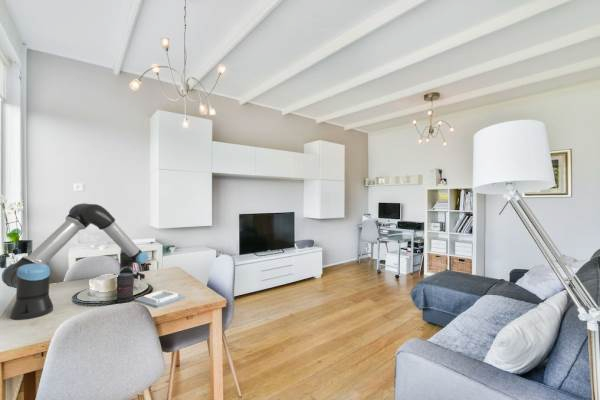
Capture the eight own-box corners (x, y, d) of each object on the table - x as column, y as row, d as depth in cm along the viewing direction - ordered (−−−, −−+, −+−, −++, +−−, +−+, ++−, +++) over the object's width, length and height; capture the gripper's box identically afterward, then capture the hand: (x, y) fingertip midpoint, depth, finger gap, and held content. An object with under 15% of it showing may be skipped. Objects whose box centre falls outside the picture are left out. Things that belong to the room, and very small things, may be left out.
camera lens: (125, 304, 153) (126, 276, 153) (112, 302, 155) (113, 275, 155) (136, 299, 161) (137, 273, 161) (124, 298, 163) (125, 272, 163)
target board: (134, 300, 159) (134, 296, 159) (163, 292, 174) (163, 287, 174) (157, 308, 149) (157, 302, 149) (185, 298, 165) (185, 293, 165)
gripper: (147, 276, 191) (149, 285, 173) (103, 281, 178) (99, 291, 160) (148, 265, 191) (149, 273, 173) (103, 269, 178) (100, 277, 160)
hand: (125, 281), depth 166 cm, fingers open, 13 cm apart
